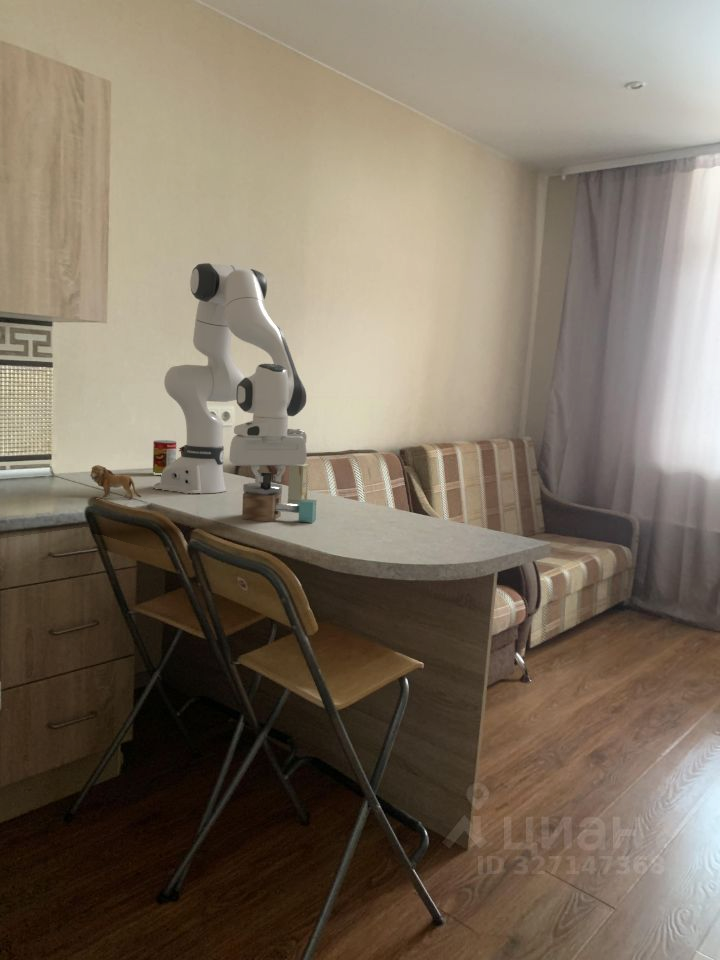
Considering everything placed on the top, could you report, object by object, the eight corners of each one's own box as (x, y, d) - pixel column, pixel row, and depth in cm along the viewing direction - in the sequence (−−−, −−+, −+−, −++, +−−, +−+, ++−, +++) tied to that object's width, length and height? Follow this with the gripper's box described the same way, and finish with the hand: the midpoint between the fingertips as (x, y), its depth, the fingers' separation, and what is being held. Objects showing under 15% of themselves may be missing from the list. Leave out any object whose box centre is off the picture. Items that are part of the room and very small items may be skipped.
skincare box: (301, 508, 208) (303, 465, 207) (286, 506, 209) (288, 464, 207) (307, 504, 214) (309, 463, 213) (293, 503, 215) (295, 462, 214)
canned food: (161, 472, 264) (161, 439, 262) (180, 474, 262) (180, 441, 260) (148, 474, 257) (148, 441, 255) (167, 476, 254) (168, 442, 253)
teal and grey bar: (241, 516, 190) (242, 496, 189) (246, 513, 194) (247, 494, 193) (312, 522, 187) (313, 502, 186) (315, 519, 191) (316, 500, 190)
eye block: (242, 519, 188) (243, 493, 187) (251, 513, 195) (252, 489, 195) (272, 521, 186) (273, 495, 185) (280, 516, 194) (281, 491, 193)
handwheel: (246, 495, 183) (247, 473, 183) (240, 488, 193) (241, 467, 192) (285, 495, 187) (286, 473, 186) (277, 488, 196) (278, 468, 195)
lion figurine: (87, 497, 207) (87, 466, 206) (94, 494, 212) (94, 463, 211) (138, 500, 207) (139, 468, 205) (144, 497, 212) (144, 466, 211)
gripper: (301, 428, 192) (298, 479, 194) (227, 427, 182) (226, 481, 183) (312, 430, 187) (309, 483, 189) (237, 429, 176) (235, 485, 178)
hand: (268, 482), depth 186 cm, fingers open, 4 cm apart
